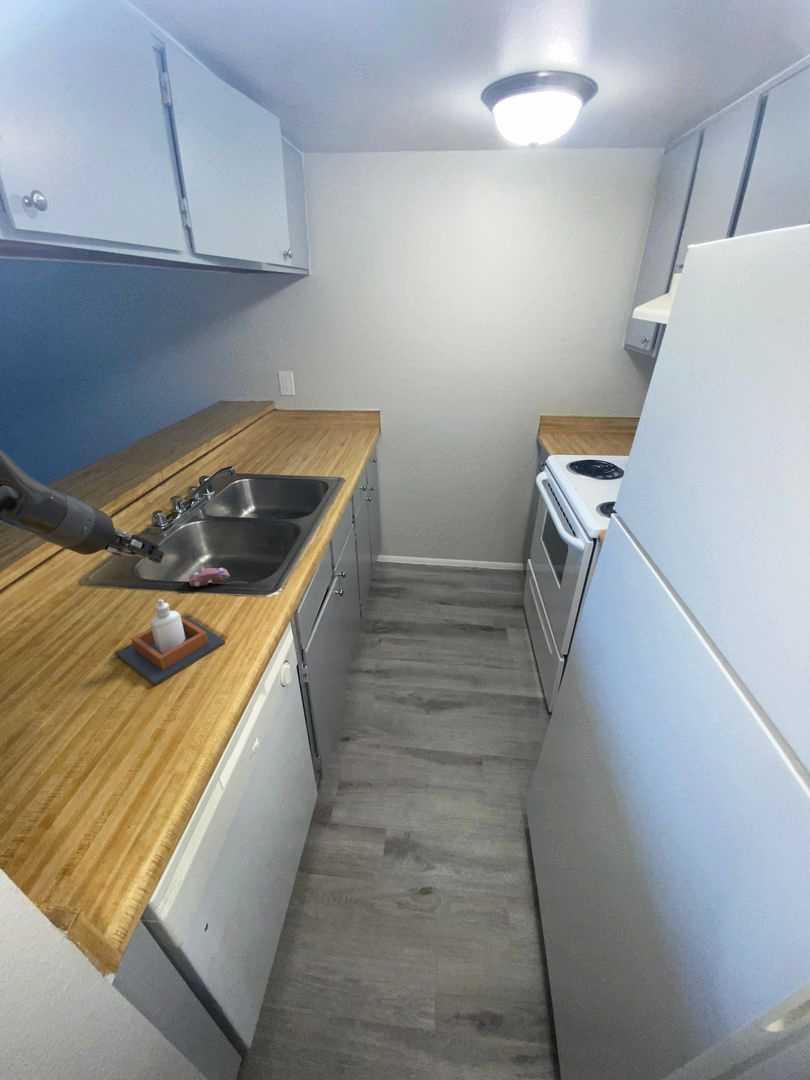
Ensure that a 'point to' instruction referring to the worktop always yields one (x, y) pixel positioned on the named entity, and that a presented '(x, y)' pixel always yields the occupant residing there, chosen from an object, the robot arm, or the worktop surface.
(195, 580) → the pink toy car
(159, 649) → the eye dropper bottle
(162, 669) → the socket pad
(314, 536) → the worktop surface
